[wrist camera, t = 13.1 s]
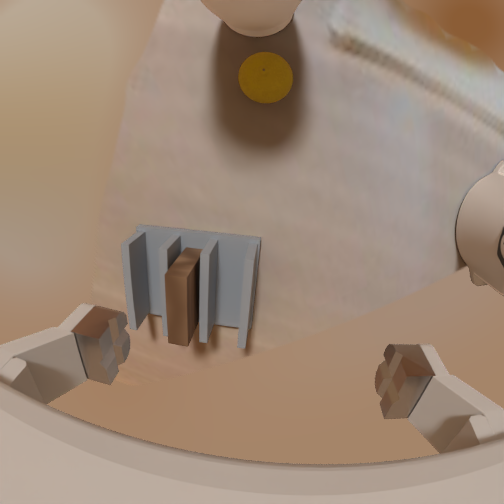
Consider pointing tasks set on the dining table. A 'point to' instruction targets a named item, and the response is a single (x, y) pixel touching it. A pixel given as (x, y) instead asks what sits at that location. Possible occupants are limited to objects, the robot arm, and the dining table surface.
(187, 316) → the board
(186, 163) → the dining table surface
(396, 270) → the dining table surface
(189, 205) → the dining table surface
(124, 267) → the rack
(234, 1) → the jar
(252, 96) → the lemon
